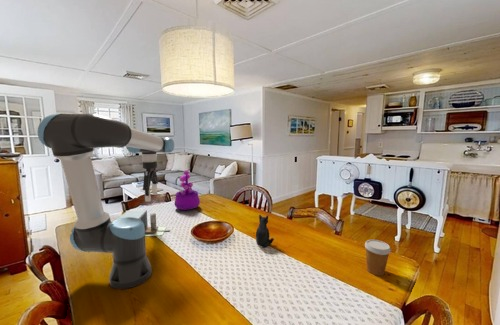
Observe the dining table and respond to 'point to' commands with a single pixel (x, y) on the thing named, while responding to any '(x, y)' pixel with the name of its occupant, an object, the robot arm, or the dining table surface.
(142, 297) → the dining table surface
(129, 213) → the tunnel
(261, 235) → the figurine
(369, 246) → the disposable coffee cup
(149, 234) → the mat
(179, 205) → the decorative plant
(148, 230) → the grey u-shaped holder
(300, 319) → the dining table surface
